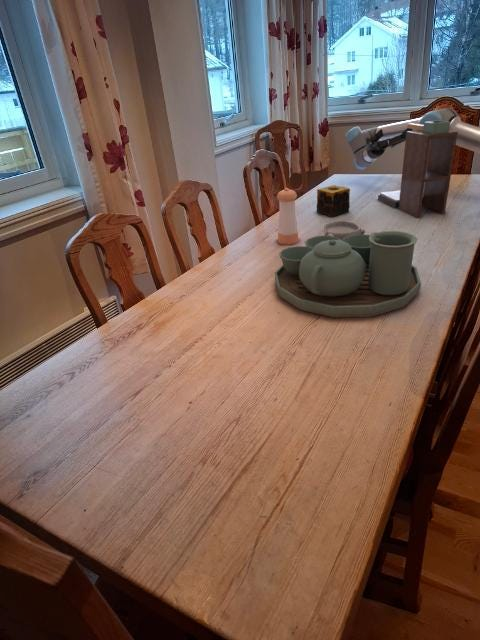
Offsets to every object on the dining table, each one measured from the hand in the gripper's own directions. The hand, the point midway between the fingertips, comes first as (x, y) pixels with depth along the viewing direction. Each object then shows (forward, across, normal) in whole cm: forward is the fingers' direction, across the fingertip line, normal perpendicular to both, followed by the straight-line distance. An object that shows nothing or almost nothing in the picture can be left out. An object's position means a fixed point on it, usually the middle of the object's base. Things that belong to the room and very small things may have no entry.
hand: (396, 130), depth 182 cm
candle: (-6, +32, -29) cm, 44 cm away
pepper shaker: (+16, +60, -42) cm, 75 cm away
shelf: (+7, 0, -36) cm, 37 cm away
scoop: (+18, 0, -8) cm, 20 cm away
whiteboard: (-6, 0, -29) cm, 29 cm away
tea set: (+51, +57, -62) cm, 99 cm away
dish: (+22, +42, -45) cm, 65 cm away
